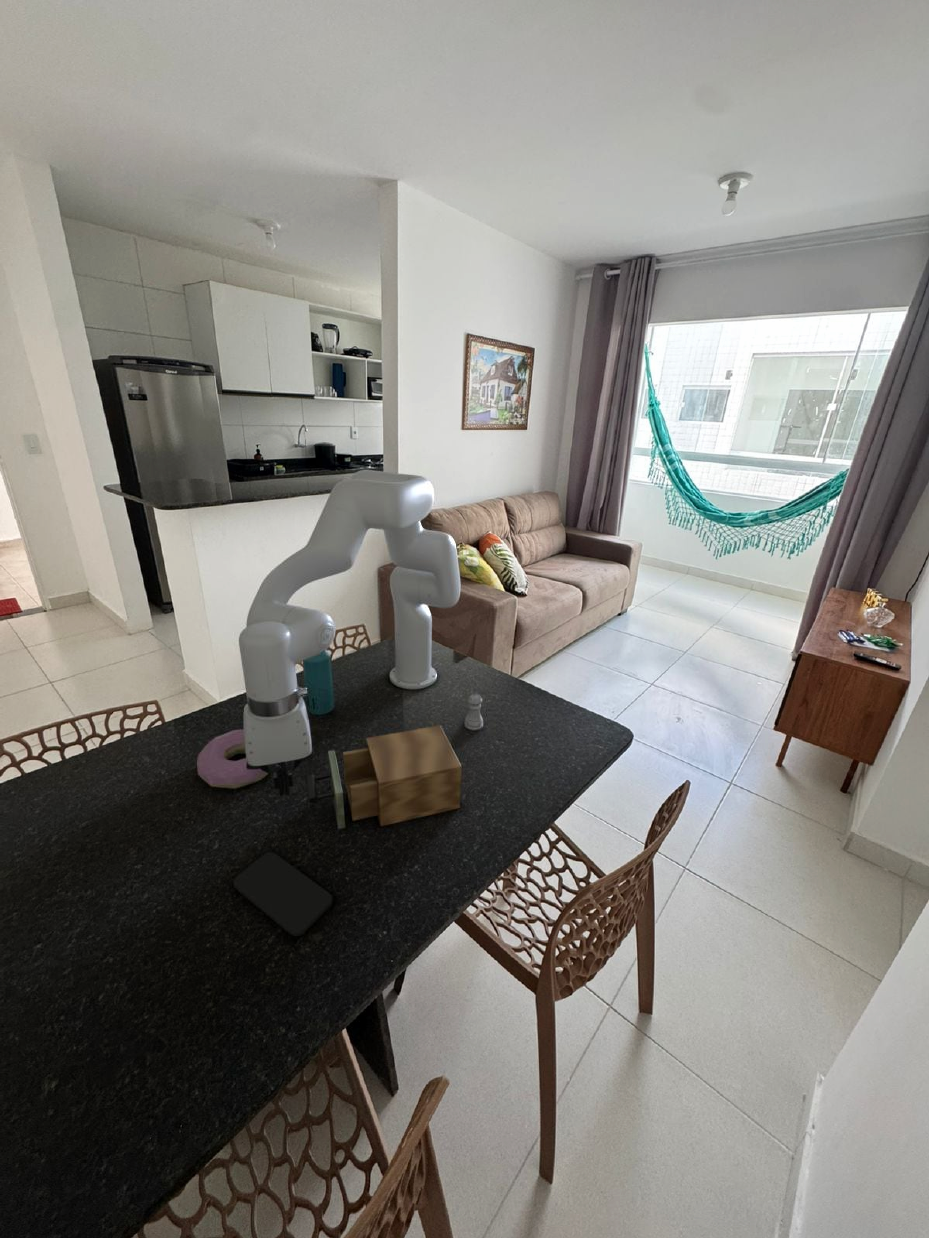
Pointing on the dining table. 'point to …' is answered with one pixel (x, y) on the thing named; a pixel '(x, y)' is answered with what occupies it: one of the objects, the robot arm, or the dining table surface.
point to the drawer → (350, 785)
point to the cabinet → (415, 774)
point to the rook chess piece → (474, 713)
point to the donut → (226, 762)
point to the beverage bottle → (319, 683)
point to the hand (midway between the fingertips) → (284, 789)
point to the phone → (283, 893)
